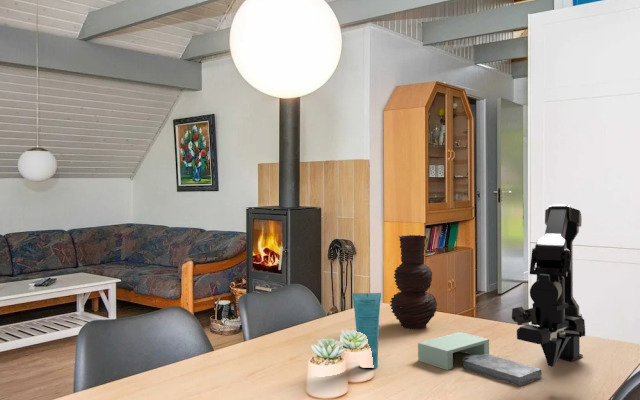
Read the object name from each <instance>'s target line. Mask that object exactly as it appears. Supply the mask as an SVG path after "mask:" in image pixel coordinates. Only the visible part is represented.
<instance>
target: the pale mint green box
mask: <svg viewBox="0 0 640 400" xmlns="http://www.w3.org/2000/svg"><path fill="white" fill-rule="evenodd" d="M417 351H418V352H417V358H418V359H417V361H418V362H422V363H425V364H428V365H430V366H434V367H438V368H441V369H444V370H446V371H449V370H453V369H454V365H453V363H454V359H453V356H454V355H453V354H455V353H457V352H461V353H465V354H467V355H471V354H474V353H475V354H479V355H483V354H489V355H490V338H485V337H481V336H478V335H473V334H470V333H466V332H461V331H457V332H454V333H453V332H452V333H449V334H447V335H444V336H439V337H434V338H430V339H427V340H424V341H420V342H419V341H418V342H417Z"/></svg>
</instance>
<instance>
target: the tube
mask: <svg viewBox="0 0 640 400" xmlns="http://www.w3.org/2000/svg"><path fill="white" fill-rule="evenodd" d="M351 296H352V302H353V311H354V320H355V330H356V331H357V332H361V333H363V334H365V335H366V336H367V339H368V344H369V346H370V348H371V351H372V357H373V365H374V369H376V368H378V366H379V331H380V330H379V327H380V326H379V325H380V311H381V310H380V309H381V299H382V293H381V292H367V293H366V292H365V293H364V292H353V293H351ZM356 331H355V332H356Z"/></svg>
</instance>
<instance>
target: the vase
mask: <svg viewBox="0 0 640 400" xmlns="http://www.w3.org/2000/svg"><path fill="white" fill-rule="evenodd" d="M398 238H399V242H400V243H399V244H400V246H399V249H400V262H401V263H400V264H399V266H398V267H396V269H395V270H394V271H393V272H394V273H393V279H395V280H394V282H395V285H396V288H397V290H399V291H398V292H397V293H396V294H395V293H394V294H393V295H392V297H391V298H390V301H389V302H390V303H391V304H389V306H390V309H391V310H392V311H391V313H392V314H393V315H394V317H395V319H396V320H398V322H399V323H400V327H402V328H403V329H407V330H421V329H424V328H425V329H426V328H427V325H428V323H430V321H431V319H433V318H434V316H435V314H436V311H437V309H438V308H437V306H438V302H437V299H436V297H435V296H434V295H433V294H432V293H429V292H427V291H428V290H429V289H430V288H431V284H432V281H433V272H432V270H431V268H430V267H429V266H427V264H425V258H426V257H425V250H426V239H427V235H420V234H419V235H417V234H416V235H413V234H412V235H411V234H408V235H403V234H402V235H401V236H399V235H398Z"/></svg>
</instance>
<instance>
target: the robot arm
mask: <svg viewBox="0 0 640 400" xmlns="http://www.w3.org/2000/svg"><path fill="white" fill-rule="evenodd" d="M544 224H545V226H546V227H545V231H544V234H543V236H542V237H539V238H538V239H537V240H536V243H535V246H534V247H532V250H531V257H530V265H529V267H530V268H529V275H536V281H534V282H533V284H532V285H531V286H530V289H529V296H530V299H531V300H532V302H533V303H532V307H530V308H526V309H524V308H523V306H517V307H514V308H511V310H512V311H511V320H513V322H515V323H517V326H520V327H518V328H517V329H516V339H517V340H519V341H524V342H528V343H532V344H537V345H540V346H541V349H542V352H543V354H544V357H545V360H546V363H547V366H549V367H552V368H554V367H555V366H556V364H557V362H558V360H559V359H561V360H564V361H567V362H568V361H570V362H572V361H575V360H577V359H580V358H583V357H584V356H583V354H582V353H580V352H581V351H580V350H581V349H580V348H581V347H580V342H581V341H580V338H583V337H586V324H585V323H586V322H585V319H584V317H583V316H582V313H580V306H579V304H578V303H577V300H576V299H575V297H574V290H573V289H574V288H573V287H574V286H573V284H574V280H573V279H574V278H573V277H574V276H573V273H574V272H573V262H574V261H573V243H574V240H575V239H576V238H577V236H578V234H579V233H580V228H581V227H582V213H581V210H579V209H578V208H577V209H576V208H573V207H571V205H568V204H551V205H548V208H547V209H545V210H544ZM528 323H530V324H528ZM523 324H526V325H523Z"/></svg>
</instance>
